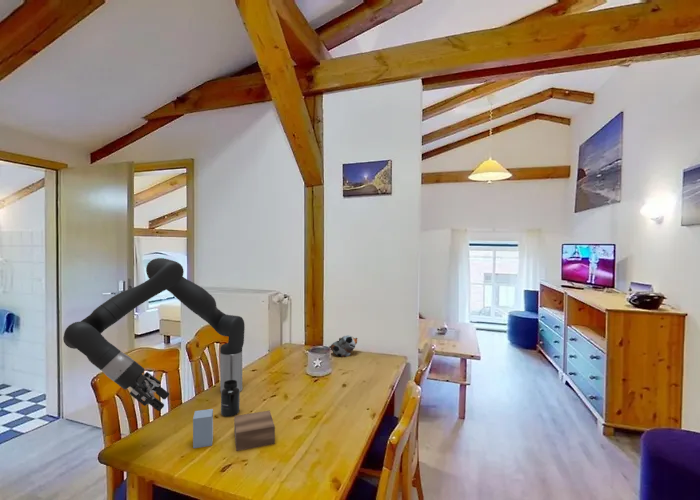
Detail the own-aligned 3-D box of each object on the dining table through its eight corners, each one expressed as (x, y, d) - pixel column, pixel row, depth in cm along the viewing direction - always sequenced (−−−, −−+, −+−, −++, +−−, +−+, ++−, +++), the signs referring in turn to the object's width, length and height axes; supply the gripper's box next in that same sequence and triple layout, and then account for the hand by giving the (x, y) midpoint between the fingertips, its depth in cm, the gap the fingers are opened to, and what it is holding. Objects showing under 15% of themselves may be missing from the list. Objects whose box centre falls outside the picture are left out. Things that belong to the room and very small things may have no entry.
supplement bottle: (220, 418, 135) (220, 386, 135) (221, 410, 142) (221, 379, 142) (239, 415, 137) (239, 384, 137) (239, 407, 144) (239, 377, 144)
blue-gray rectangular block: (195, 439, 121) (195, 411, 121) (213, 436, 123) (213, 408, 122) (193, 448, 116) (193, 418, 115) (211, 445, 117) (211, 416, 117)
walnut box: (234, 433, 125) (234, 416, 125) (269, 427, 130) (269, 410, 130) (236, 452, 114) (236, 433, 114) (274, 444, 118) (274, 426, 118)
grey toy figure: (341, 349, 223) (352, 329, 222) (353, 361, 215) (364, 341, 214) (324, 347, 212) (336, 326, 211) (336, 359, 204) (348, 338, 203)
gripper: (126, 368, 106) (169, 402, 109) (139, 354, 119) (177, 384, 123) (105, 388, 104) (150, 422, 108) (120, 371, 118) (160, 402, 122)
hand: (164, 402), depth 115 cm, fingers open, 8 cm apart
